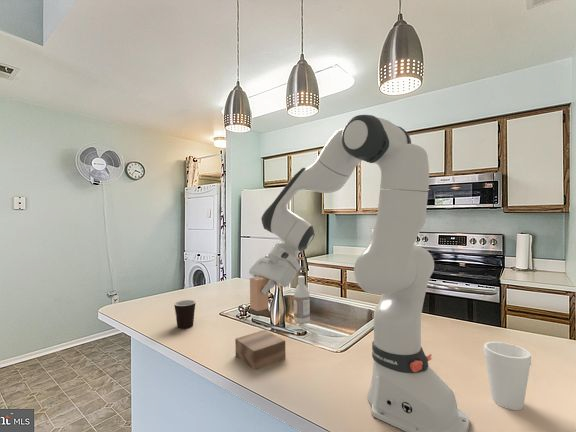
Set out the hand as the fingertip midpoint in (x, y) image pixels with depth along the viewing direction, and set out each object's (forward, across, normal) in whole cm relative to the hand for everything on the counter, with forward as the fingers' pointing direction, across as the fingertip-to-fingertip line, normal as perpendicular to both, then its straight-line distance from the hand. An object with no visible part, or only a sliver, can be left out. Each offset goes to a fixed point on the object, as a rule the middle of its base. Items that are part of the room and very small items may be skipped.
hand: (257, 290), depth 99 cm
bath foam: (-7, -16, +39) cm, 43 cm away
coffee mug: (+22, -45, +10) cm, 51 cm away
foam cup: (-10, +59, +40) cm, 72 cm away
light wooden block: (+4, 0, +5) cm, 6 cm away
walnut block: (+15, 0, +16) cm, 22 cm away
